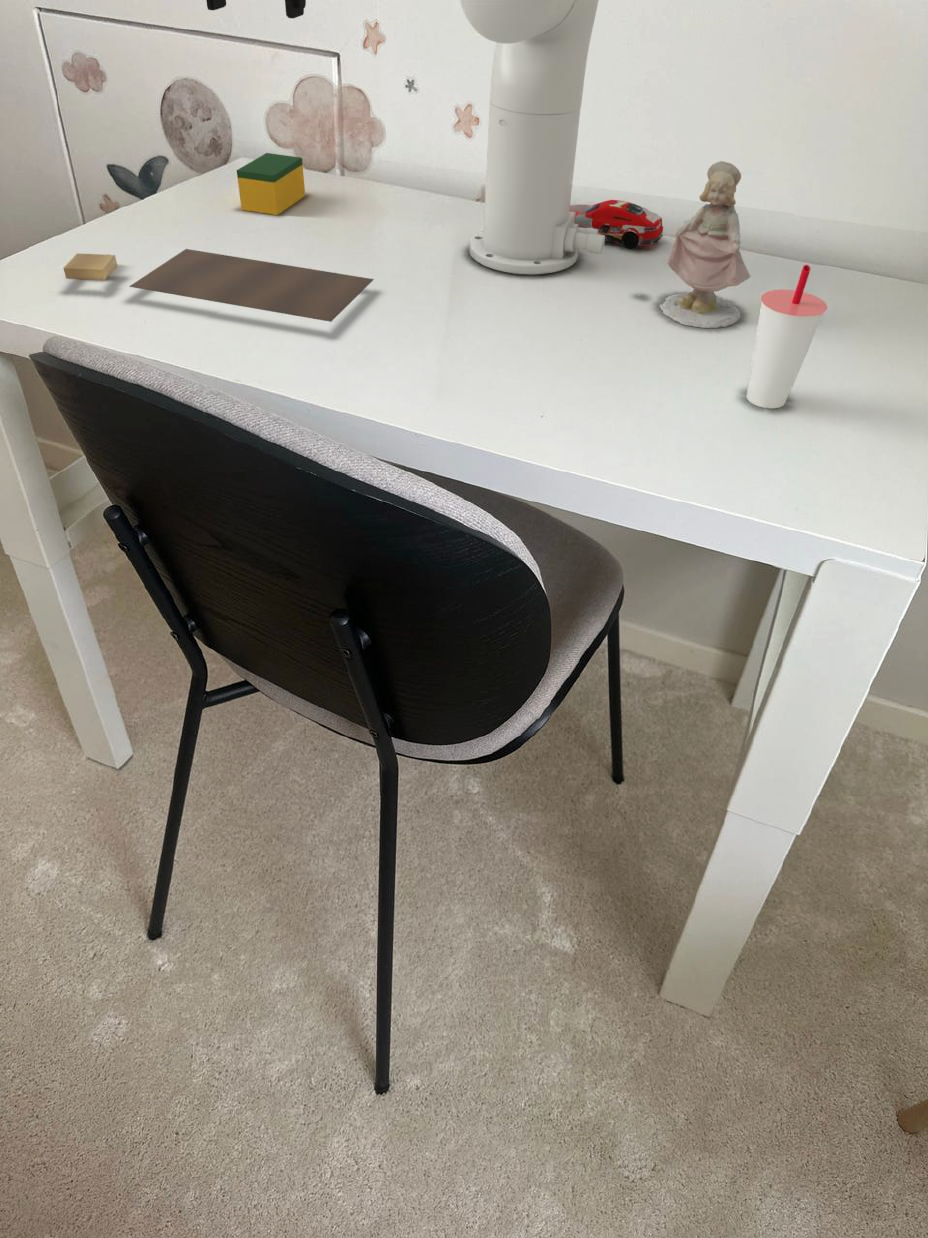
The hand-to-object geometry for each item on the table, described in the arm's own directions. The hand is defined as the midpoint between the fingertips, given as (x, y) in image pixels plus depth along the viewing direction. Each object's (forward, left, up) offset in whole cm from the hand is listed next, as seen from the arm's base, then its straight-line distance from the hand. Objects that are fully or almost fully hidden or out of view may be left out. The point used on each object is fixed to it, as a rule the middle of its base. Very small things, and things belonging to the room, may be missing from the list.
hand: (256, 12), depth 100 cm
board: (-11, +27, -20) cm, 36 cm away
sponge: (0, 0, -20) cm, 20 cm away
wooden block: (+6, +31, -20) cm, 37 cm away
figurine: (-54, +13, -20) cm, 59 cm away
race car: (-42, -5, -20) cm, 47 cm away
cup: (-63, +30, -20) cm, 73 cm away
